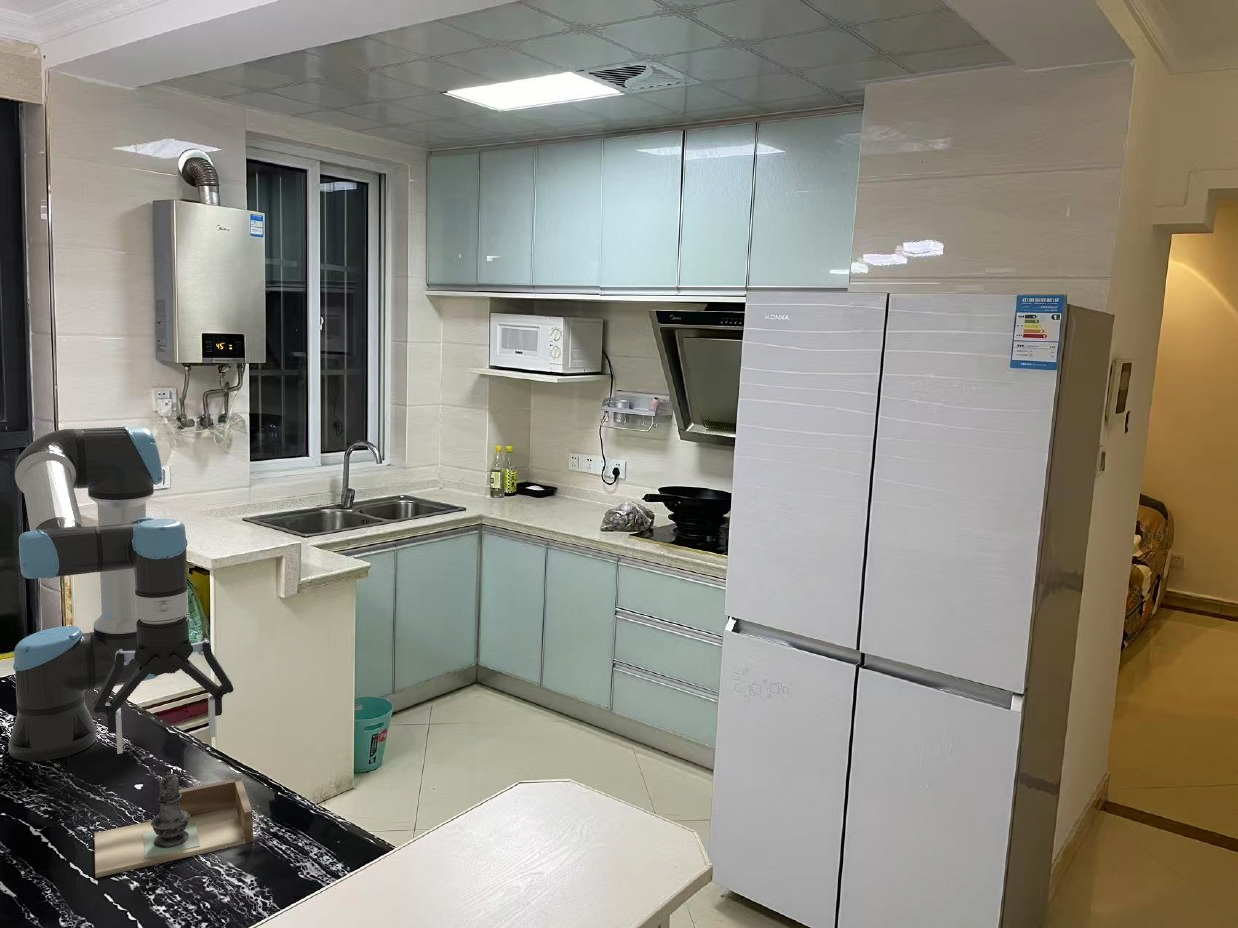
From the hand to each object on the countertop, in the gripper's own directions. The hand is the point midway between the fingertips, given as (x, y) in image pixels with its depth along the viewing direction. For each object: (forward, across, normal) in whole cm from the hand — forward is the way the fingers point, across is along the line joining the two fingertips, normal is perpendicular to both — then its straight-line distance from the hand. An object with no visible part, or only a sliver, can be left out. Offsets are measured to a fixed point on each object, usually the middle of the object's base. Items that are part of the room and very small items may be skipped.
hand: (167, 742), depth 151 cm
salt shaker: (+17, 0, -1) cm, 17 cm away
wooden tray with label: (+18, +1, +1) cm, 18 cm away
